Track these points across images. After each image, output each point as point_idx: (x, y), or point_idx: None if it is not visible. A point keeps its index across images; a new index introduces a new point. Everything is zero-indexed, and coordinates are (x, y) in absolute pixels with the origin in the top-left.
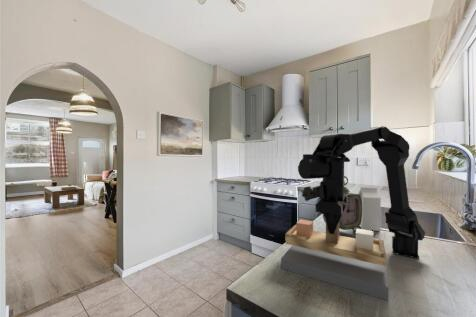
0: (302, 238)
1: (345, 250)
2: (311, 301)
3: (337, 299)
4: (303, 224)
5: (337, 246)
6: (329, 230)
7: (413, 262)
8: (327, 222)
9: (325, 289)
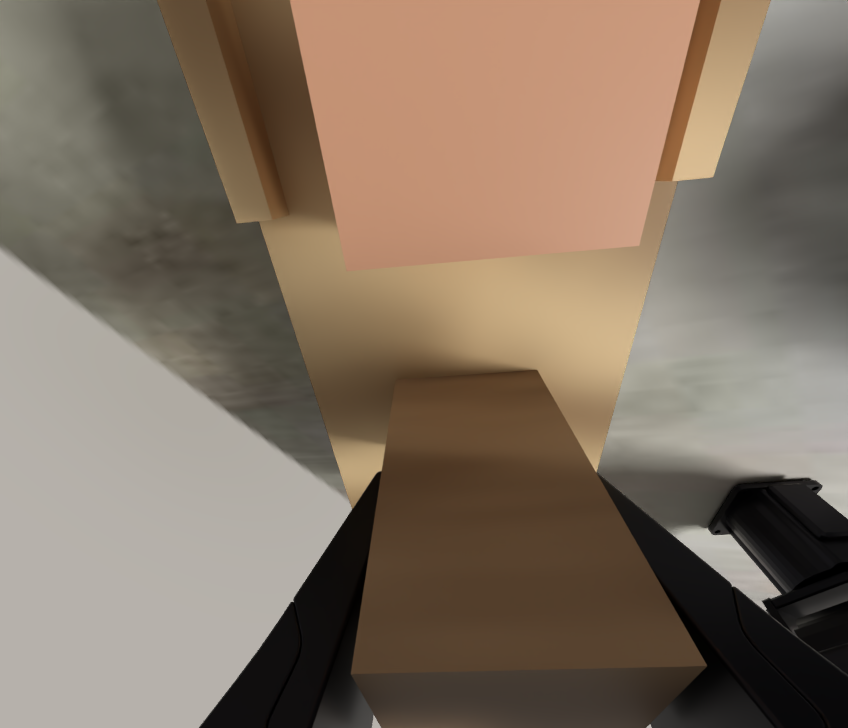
0: (228, 177)
1: (348, 486)
2: (151, 303)
3: (250, 372)
4: (317, 99)
5: (364, 454)
6: (361, 502)
7: (670, 517)
8: (291, 613)
9: (272, 326)
